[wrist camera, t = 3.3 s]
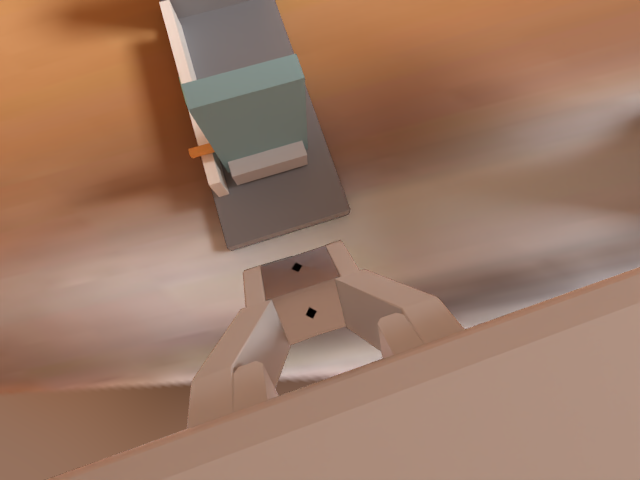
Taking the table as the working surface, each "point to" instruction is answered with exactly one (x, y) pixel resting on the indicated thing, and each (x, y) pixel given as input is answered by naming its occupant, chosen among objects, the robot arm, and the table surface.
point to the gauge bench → (230, 199)
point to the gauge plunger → (252, 118)
